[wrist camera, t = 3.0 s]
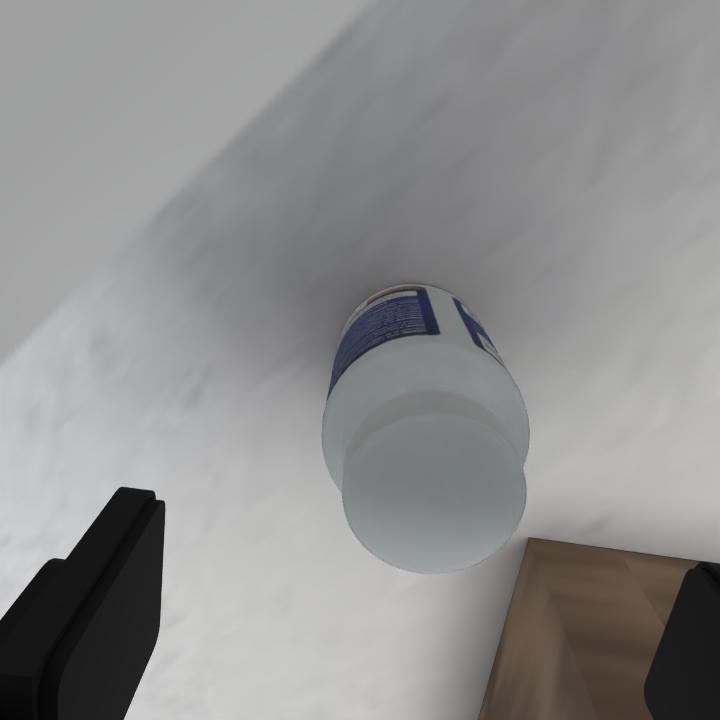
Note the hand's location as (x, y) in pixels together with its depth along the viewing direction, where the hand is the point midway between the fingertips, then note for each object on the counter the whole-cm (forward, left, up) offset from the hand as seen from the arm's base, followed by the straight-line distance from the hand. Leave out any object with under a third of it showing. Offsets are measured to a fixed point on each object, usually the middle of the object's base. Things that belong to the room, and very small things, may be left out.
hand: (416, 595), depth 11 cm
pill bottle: (0, 0, -13) cm, 13 cm away
